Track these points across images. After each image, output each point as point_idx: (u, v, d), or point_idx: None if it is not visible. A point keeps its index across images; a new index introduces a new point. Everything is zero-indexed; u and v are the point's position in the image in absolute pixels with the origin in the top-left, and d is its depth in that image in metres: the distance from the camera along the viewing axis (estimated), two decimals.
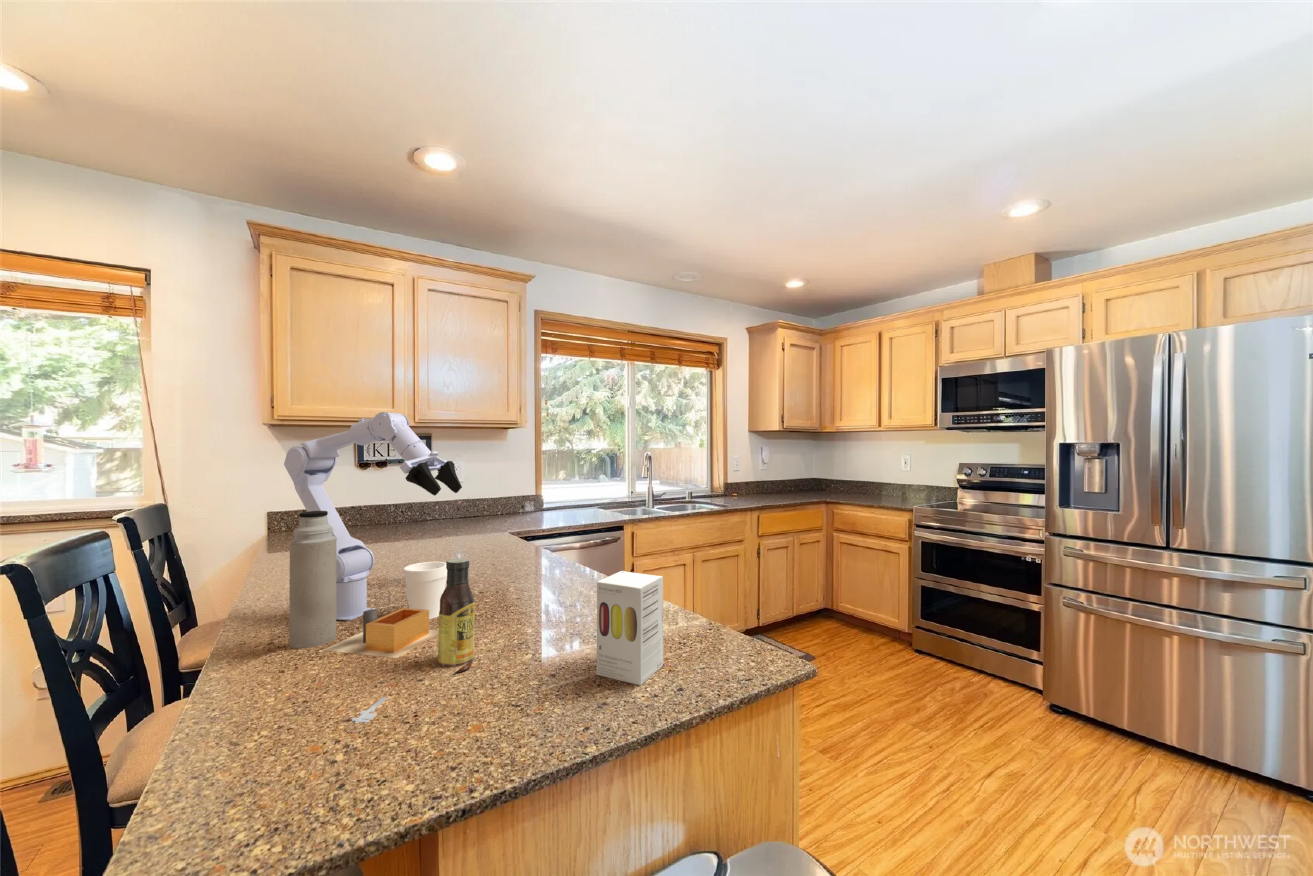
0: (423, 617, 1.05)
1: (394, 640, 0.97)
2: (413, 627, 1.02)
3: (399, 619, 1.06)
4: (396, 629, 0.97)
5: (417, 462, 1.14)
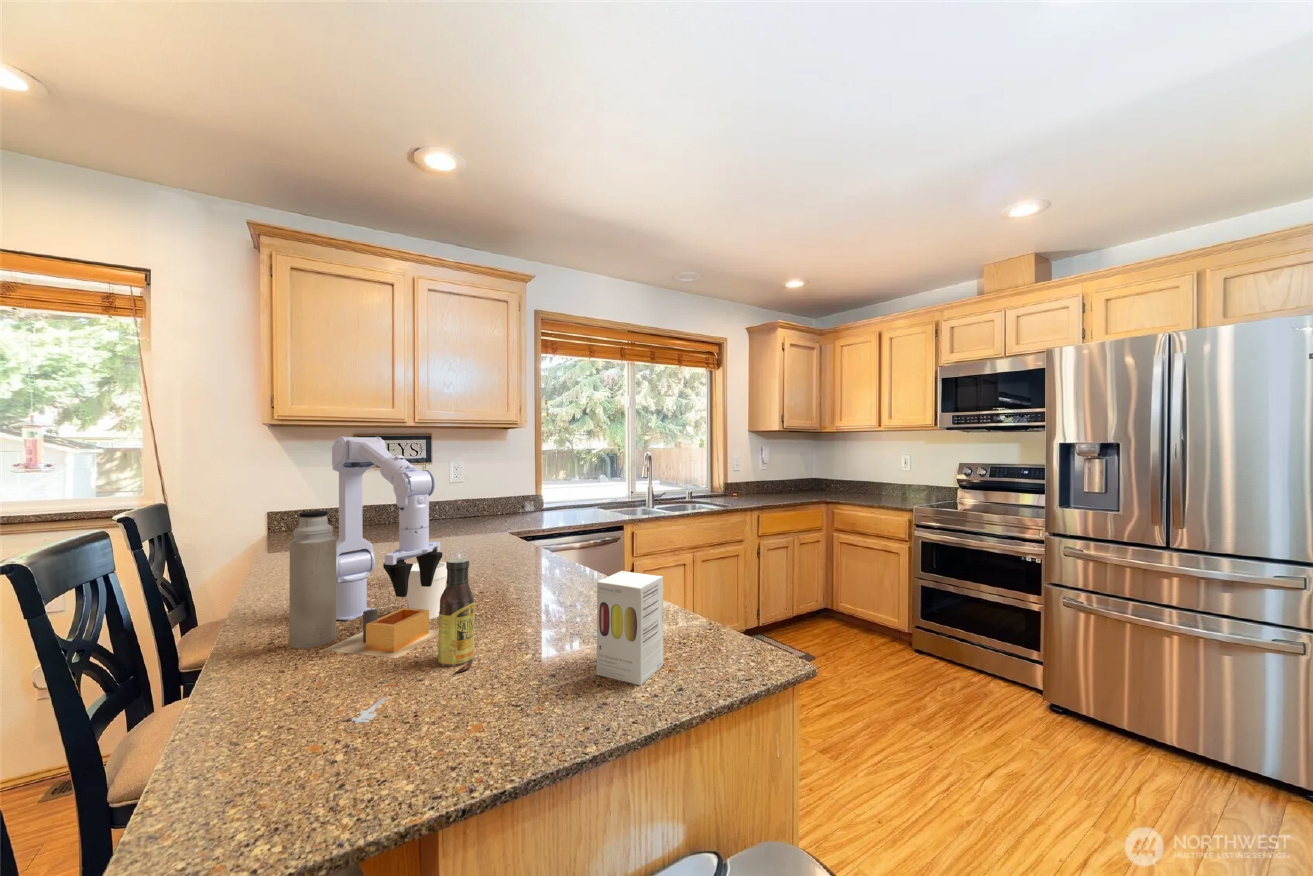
0: (423, 617, 1.05)
1: (394, 640, 0.97)
2: (413, 627, 1.02)
3: (399, 619, 1.06)
4: (396, 629, 0.97)
5: (405, 556, 1.03)
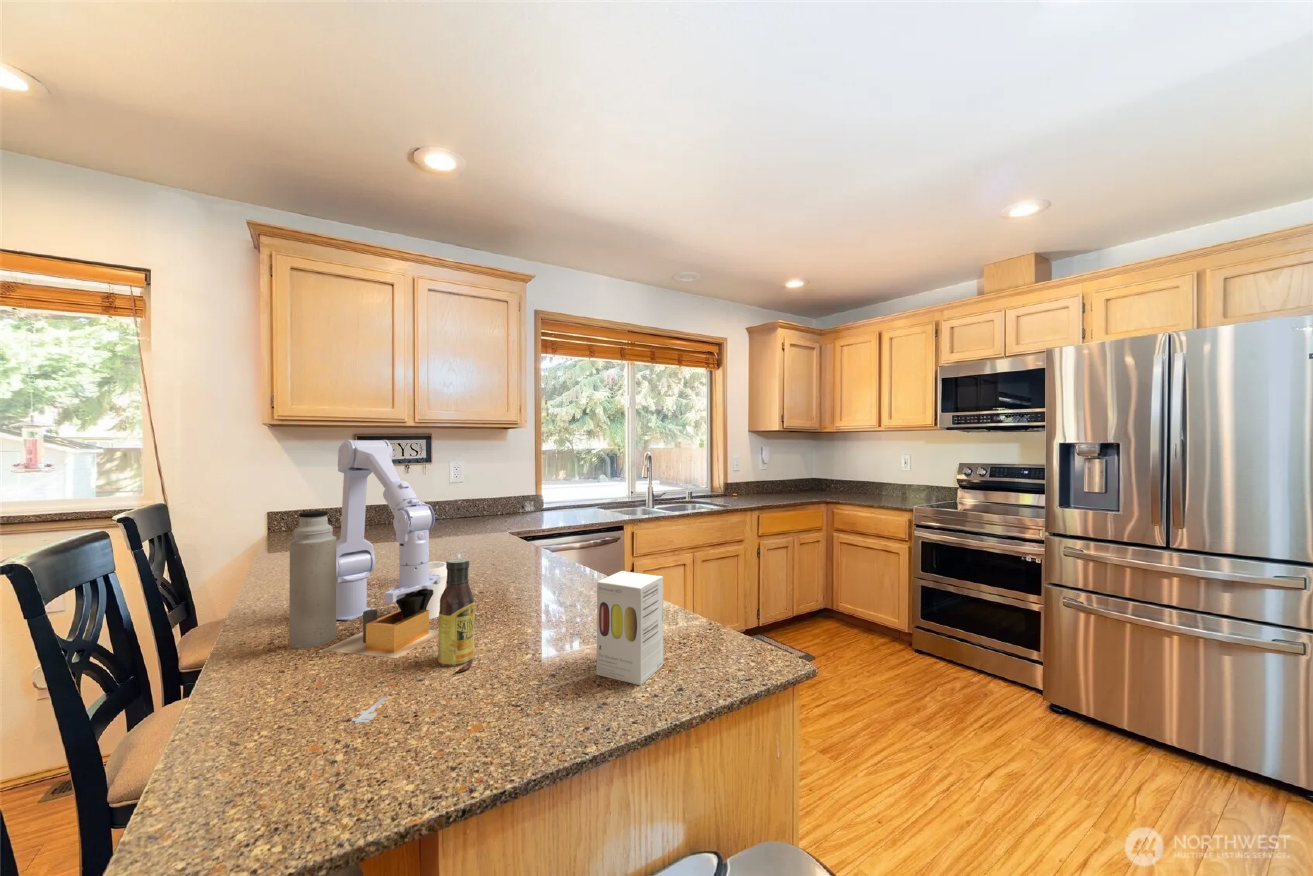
0: (423, 617, 1.05)
1: (394, 640, 0.97)
2: (413, 627, 1.02)
3: (399, 619, 1.06)
4: (396, 629, 0.97)
5: None
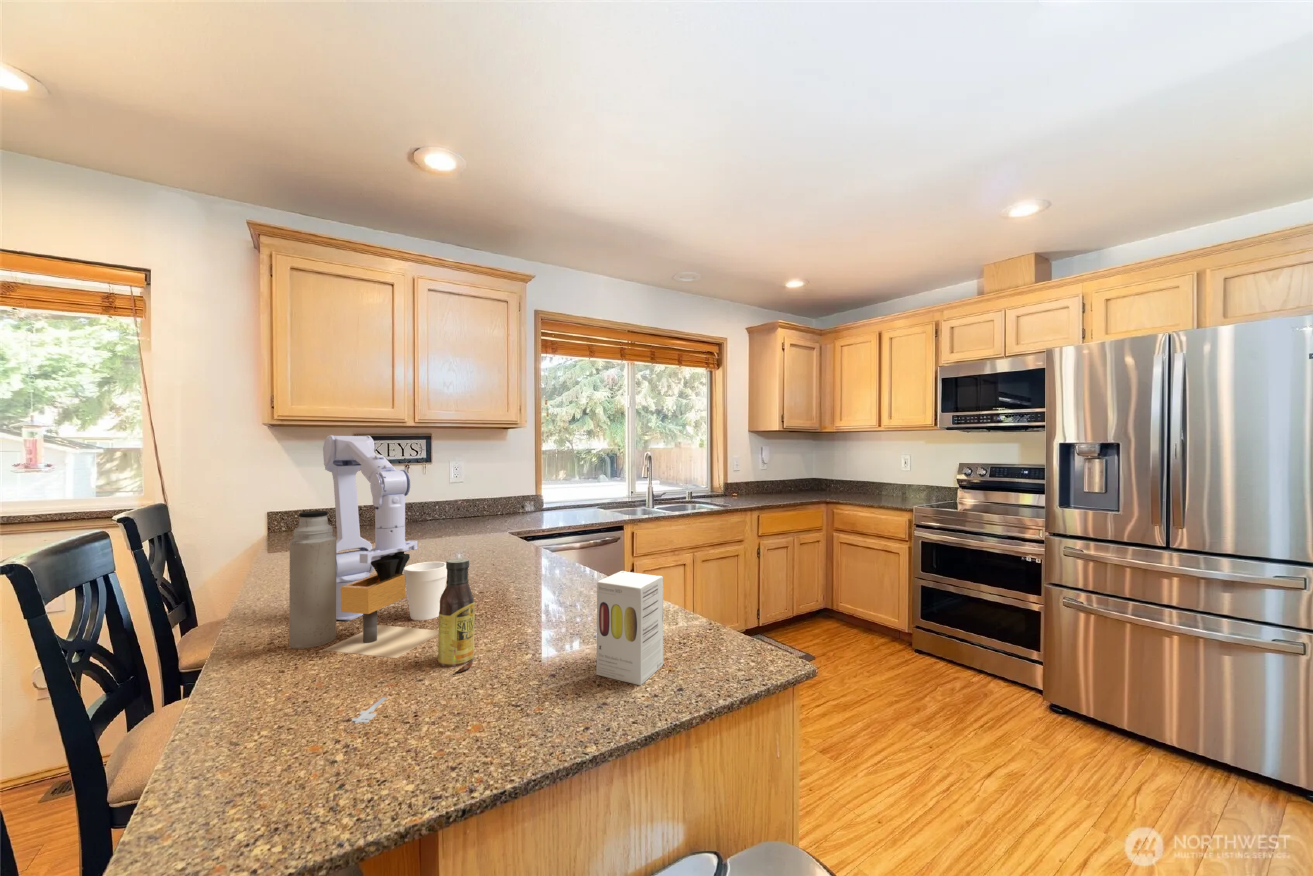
0: (399, 581, 1.06)
1: (368, 602, 0.98)
2: (388, 590, 1.03)
3: (376, 584, 1.07)
4: (370, 591, 0.99)
5: (380, 554, 1.04)
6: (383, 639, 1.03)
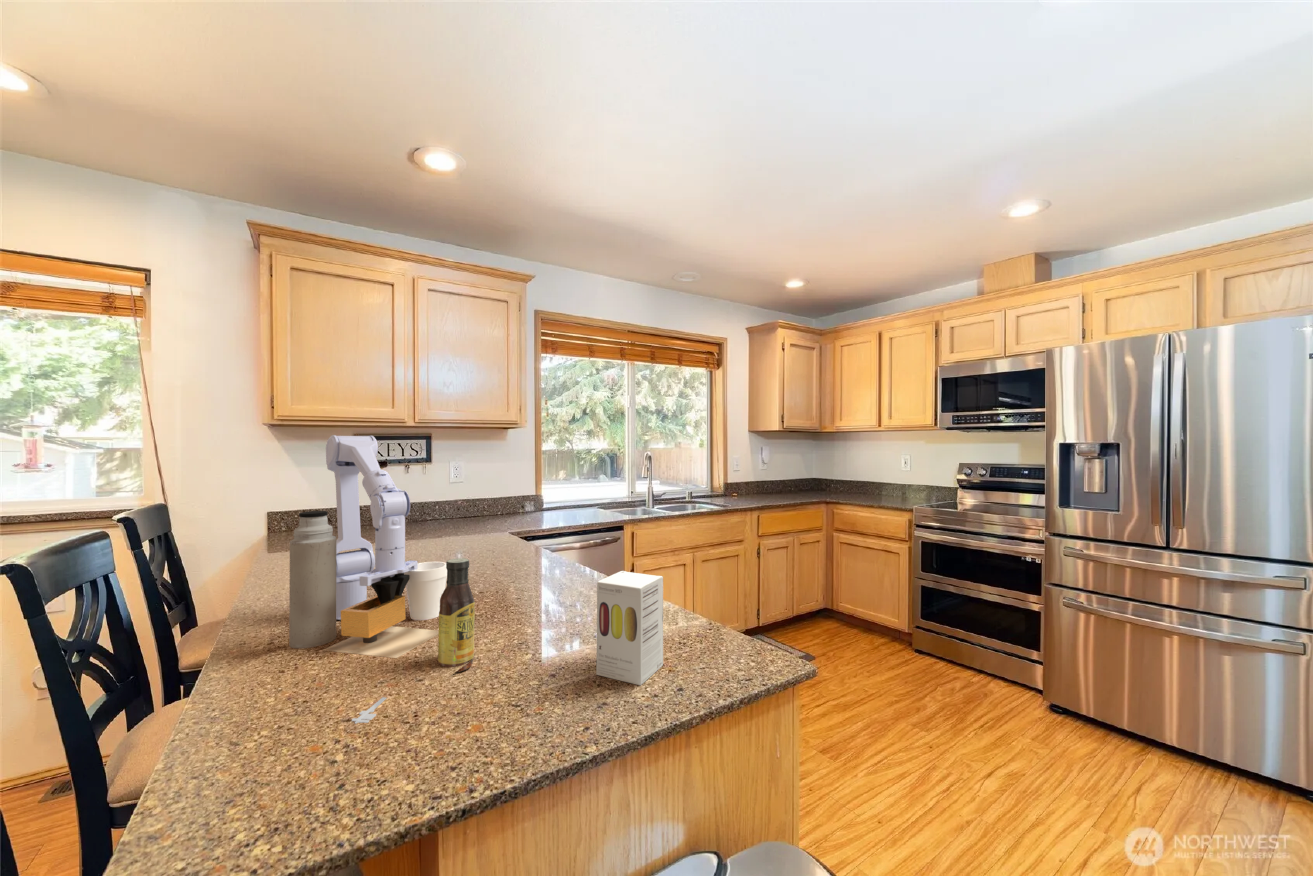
0: (399, 603, 1.06)
1: (369, 626, 0.98)
2: (388, 613, 1.03)
3: (376, 606, 1.07)
4: (370, 615, 0.99)
5: (380, 576, 1.04)
6: (383, 639, 1.03)
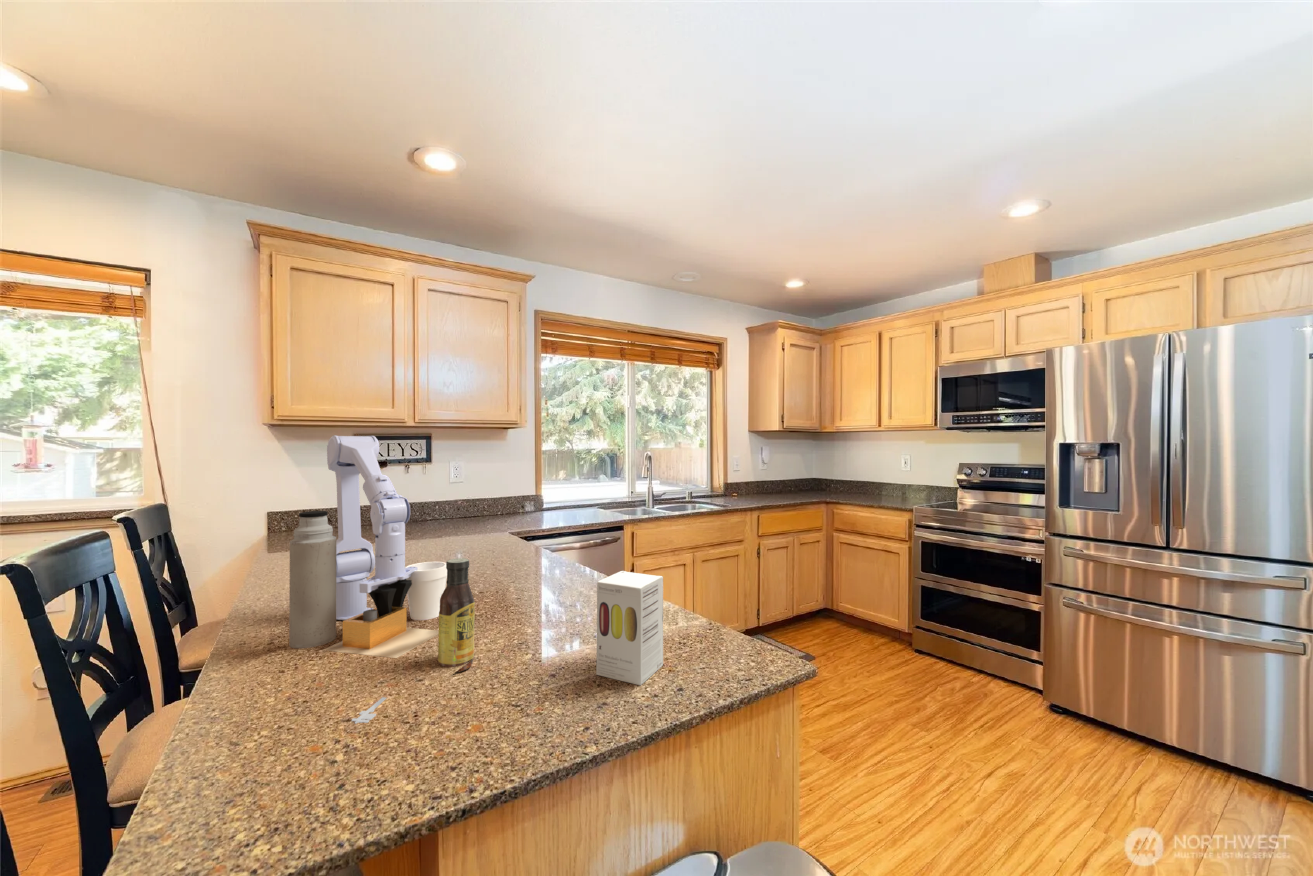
0: (400, 614, 1.07)
1: (370, 637, 0.99)
2: (390, 624, 1.04)
3: (377, 617, 1.08)
4: (372, 626, 0.99)
5: None
6: None
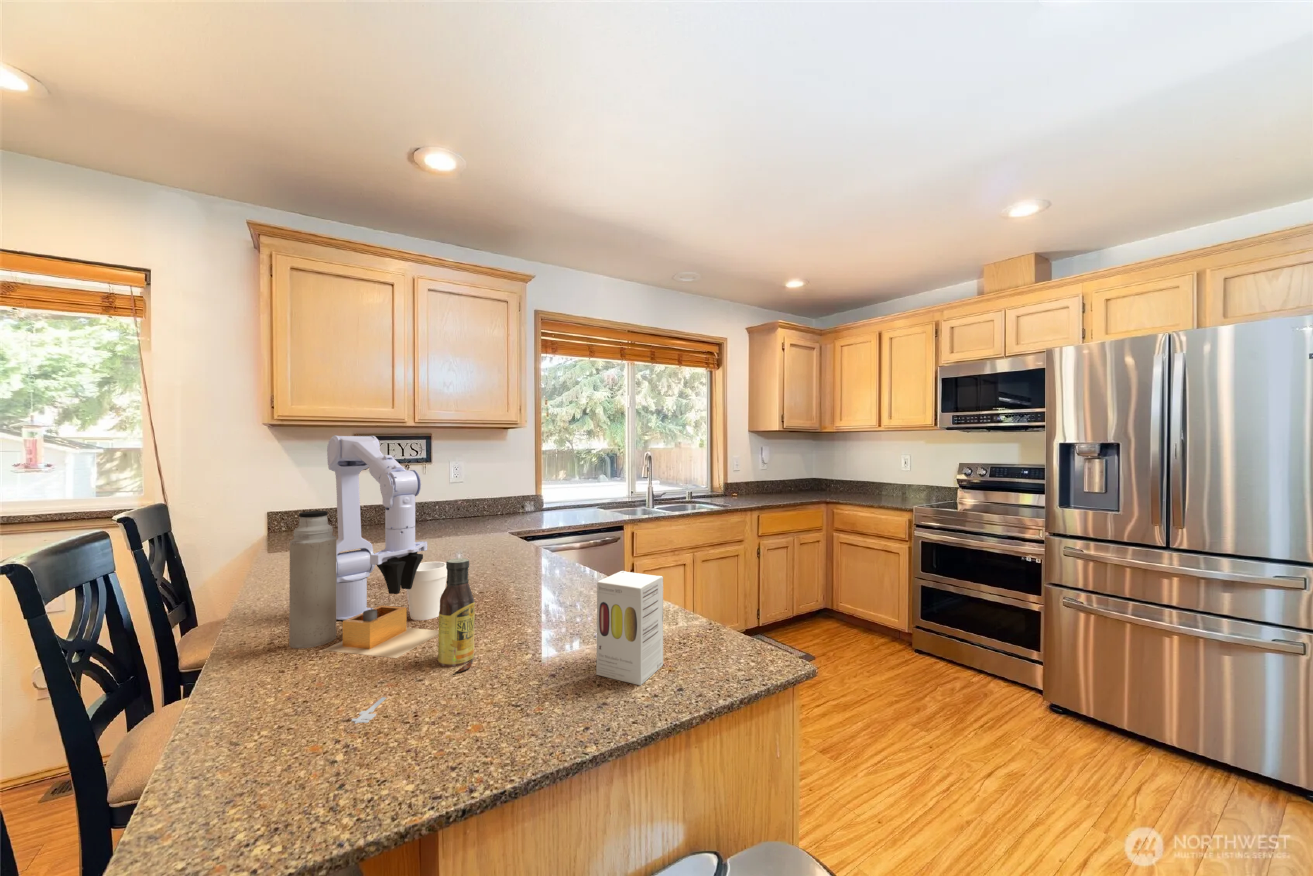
0: (400, 614, 1.07)
1: (370, 637, 0.99)
2: (390, 624, 1.04)
3: (377, 617, 1.08)
4: (372, 626, 0.99)
5: (391, 556, 1.03)
6: None
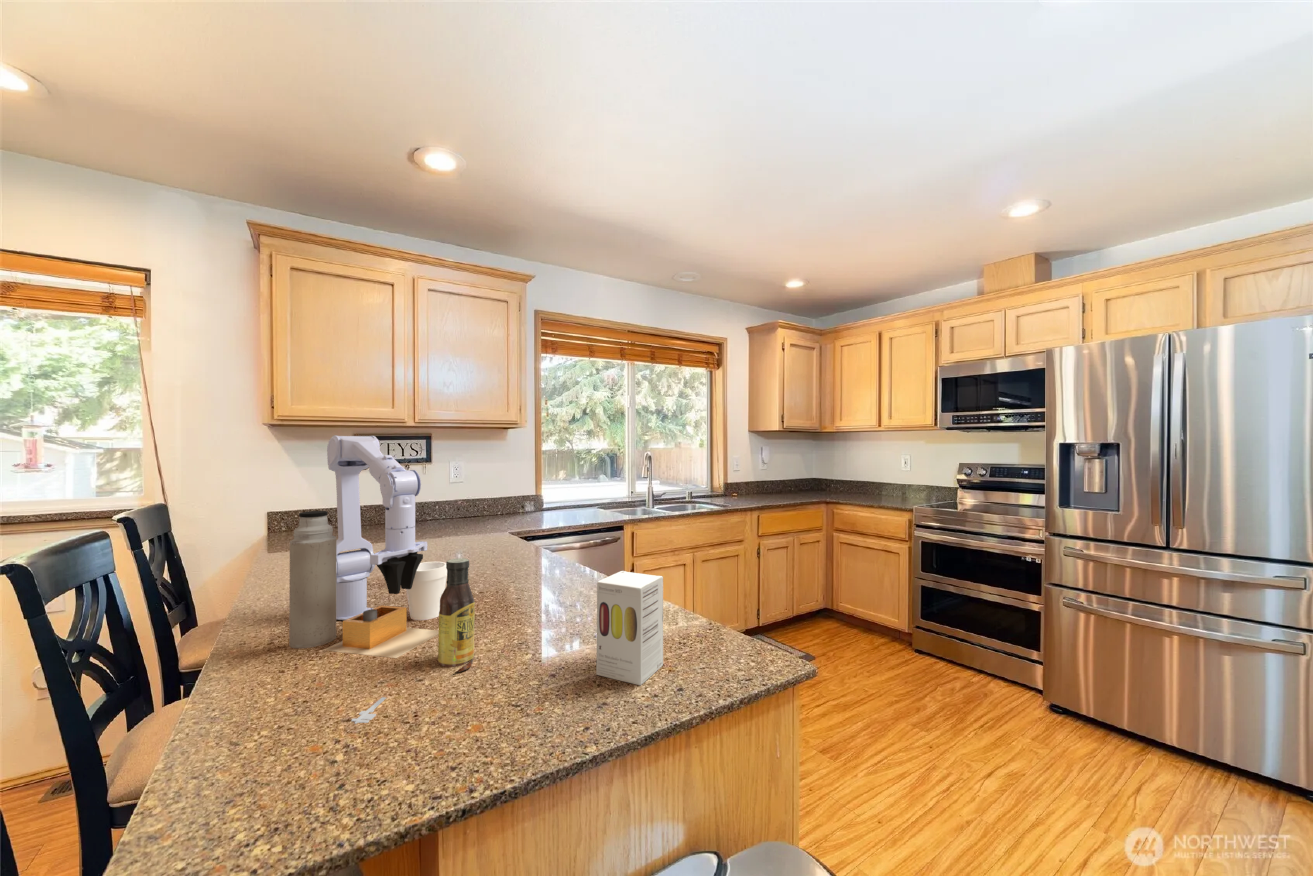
0: (400, 614, 1.07)
1: (370, 637, 0.99)
2: (390, 624, 1.04)
3: (377, 617, 1.08)
4: (372, 626, 0.99)
5: (391, 556, 1.03)
6: None
